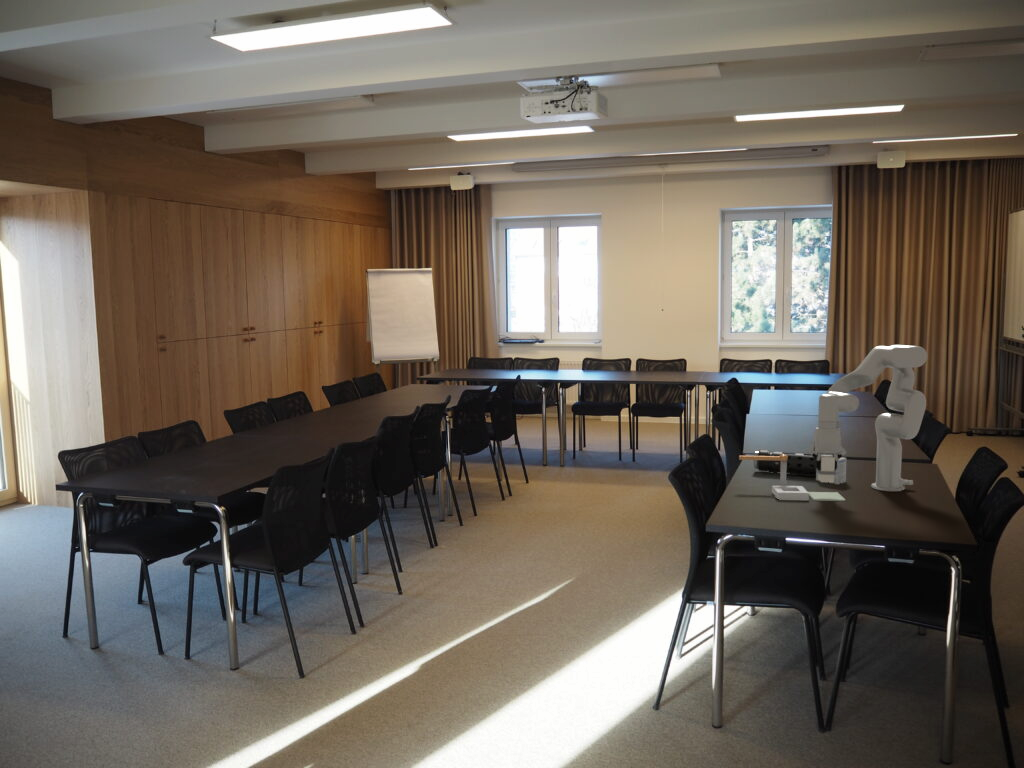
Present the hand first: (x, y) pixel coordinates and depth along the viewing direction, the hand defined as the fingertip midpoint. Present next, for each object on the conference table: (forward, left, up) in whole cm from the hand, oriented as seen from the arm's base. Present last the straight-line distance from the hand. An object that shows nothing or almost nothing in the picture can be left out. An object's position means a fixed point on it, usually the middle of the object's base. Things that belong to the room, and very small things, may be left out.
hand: (826, 469), depth 340 cm
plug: (0, 0, -5) cm, 5 cm away
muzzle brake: (+7, -42, -12) cm, 44 cm away
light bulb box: (-9, -29, -12) cm, 33 cm away
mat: (0, 0, -11) cm, 11 cm away
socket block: (+14, -5, -11) cm, 19 cm away
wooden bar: (+22, -14, +1) cm, 26 cm away
